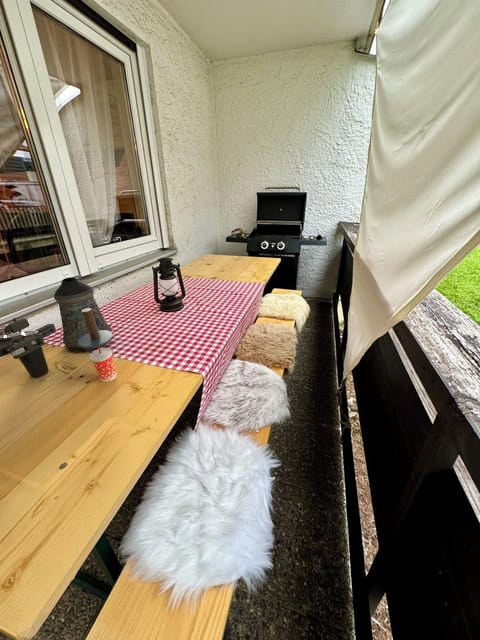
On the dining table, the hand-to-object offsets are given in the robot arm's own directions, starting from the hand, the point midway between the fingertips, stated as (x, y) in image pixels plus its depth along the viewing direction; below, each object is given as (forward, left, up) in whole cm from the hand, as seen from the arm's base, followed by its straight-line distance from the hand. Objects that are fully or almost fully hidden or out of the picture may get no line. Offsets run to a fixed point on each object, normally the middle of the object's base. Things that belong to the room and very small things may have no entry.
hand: (40, 324), depth 60 cm
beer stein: (-23, +27, -25) cm, 43 cm away
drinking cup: (-22, +7, -25) cm, 34 cm away
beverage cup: (+1, +12, -25) cm, 28 cm away
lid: (+1, +12, -11) cm, 16 cm away
